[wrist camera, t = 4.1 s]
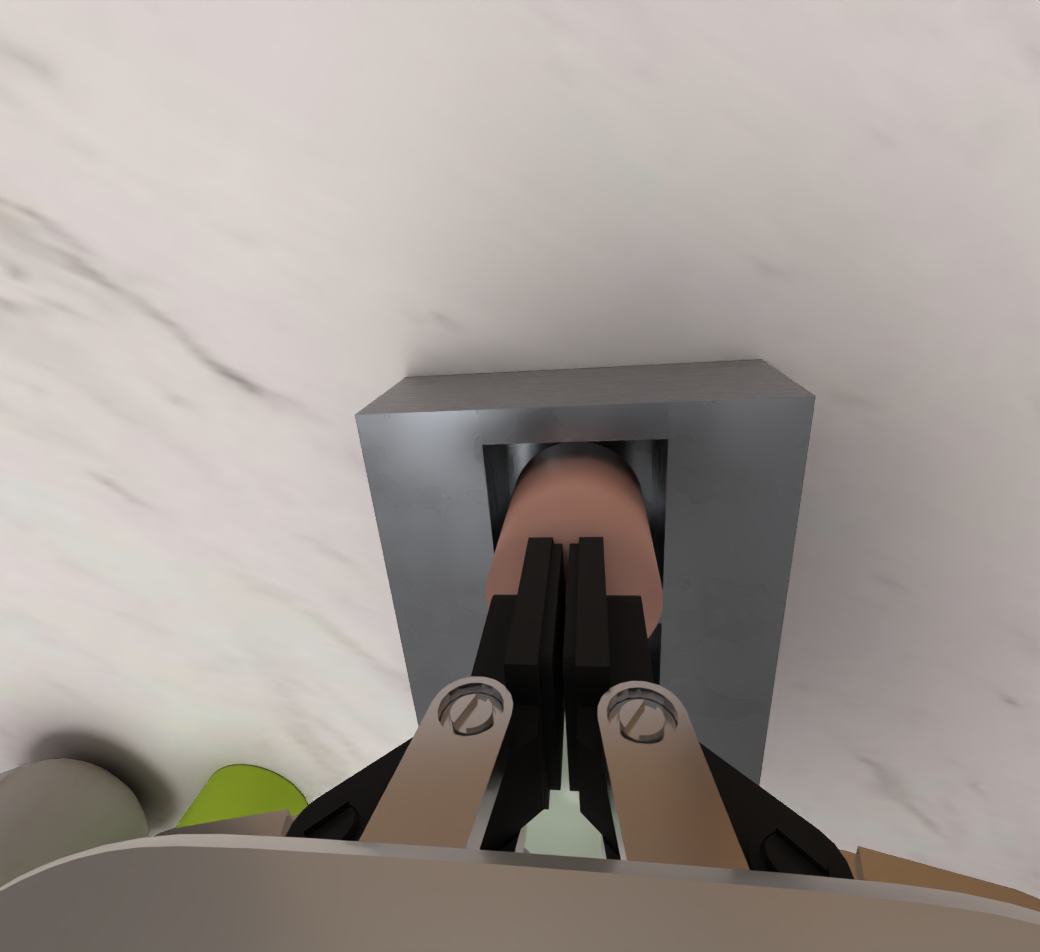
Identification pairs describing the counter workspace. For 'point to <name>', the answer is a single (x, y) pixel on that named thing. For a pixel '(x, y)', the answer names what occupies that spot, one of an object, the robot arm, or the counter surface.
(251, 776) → the soap dispenser
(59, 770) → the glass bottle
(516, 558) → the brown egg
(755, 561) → the gray socket block
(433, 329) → the counter surface
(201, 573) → the counter surface
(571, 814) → the green piece
